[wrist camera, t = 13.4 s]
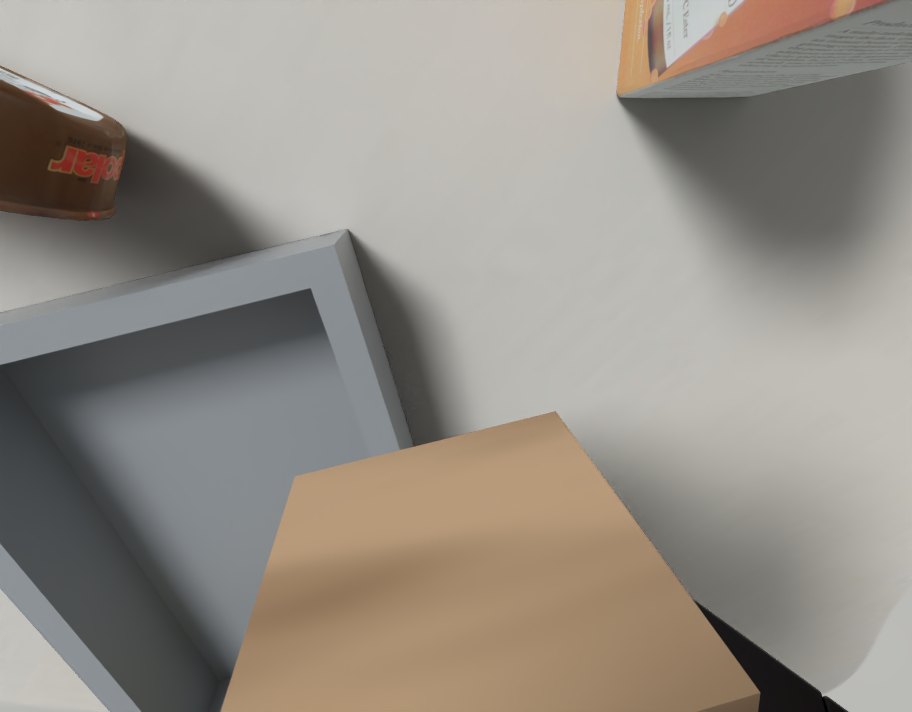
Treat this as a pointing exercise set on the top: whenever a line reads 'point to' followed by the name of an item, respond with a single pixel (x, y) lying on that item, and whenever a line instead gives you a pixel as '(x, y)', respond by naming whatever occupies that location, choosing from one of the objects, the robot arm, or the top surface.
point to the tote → (178, 455)
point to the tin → (56, 153)
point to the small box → (755, 44)
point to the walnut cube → (475, 591)
